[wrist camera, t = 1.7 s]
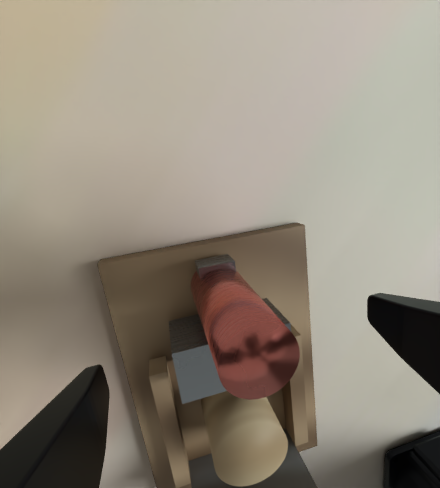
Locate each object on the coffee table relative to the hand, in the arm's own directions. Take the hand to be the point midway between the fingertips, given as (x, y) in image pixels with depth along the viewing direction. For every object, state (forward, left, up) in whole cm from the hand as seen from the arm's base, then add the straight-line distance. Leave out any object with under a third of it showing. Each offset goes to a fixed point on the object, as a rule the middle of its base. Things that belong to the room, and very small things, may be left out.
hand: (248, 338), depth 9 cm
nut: (-7, 0, -5) cm, 8 cm away
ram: (-1, 0, -5) cm, 5 cm away
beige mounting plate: (-5, 0, -6) cm, 8 cm away
